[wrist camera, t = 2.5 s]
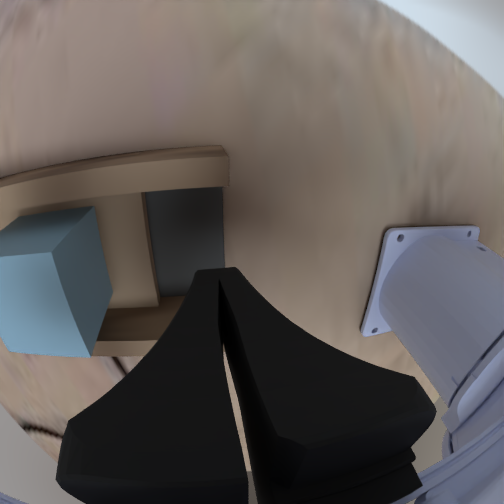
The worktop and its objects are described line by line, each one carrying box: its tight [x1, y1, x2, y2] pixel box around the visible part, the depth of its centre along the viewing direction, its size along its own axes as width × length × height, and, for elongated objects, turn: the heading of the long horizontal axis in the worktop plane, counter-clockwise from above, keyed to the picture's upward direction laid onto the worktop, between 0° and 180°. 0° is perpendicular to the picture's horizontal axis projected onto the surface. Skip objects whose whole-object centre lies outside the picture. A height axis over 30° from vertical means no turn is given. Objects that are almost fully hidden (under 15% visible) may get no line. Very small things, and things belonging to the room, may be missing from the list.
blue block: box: [0, 206, 113, 358], centre depth 10 cm, size 4×4×4 cm
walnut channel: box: [0, 146, 229, 356], centre depth 12 cm, size 12×8×4 cm
